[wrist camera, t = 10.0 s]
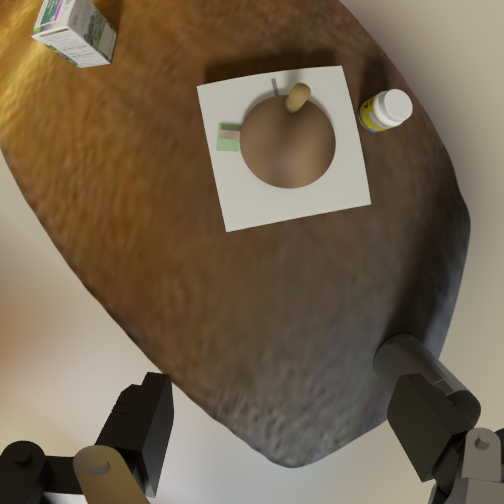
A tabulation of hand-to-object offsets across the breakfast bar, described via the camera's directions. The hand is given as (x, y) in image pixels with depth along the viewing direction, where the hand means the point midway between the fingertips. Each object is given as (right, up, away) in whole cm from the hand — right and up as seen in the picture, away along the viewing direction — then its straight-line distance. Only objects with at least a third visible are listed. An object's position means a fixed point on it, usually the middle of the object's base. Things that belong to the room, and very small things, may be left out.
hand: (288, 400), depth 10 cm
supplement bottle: (+16, +24, +29) cm, 41 cm away
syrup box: (-24, +35, +26) cm, 50 cm away
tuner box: (+3, +19, +30) cm, 35 cm away
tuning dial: (+2, +18, +25) cm, 30 cm away
